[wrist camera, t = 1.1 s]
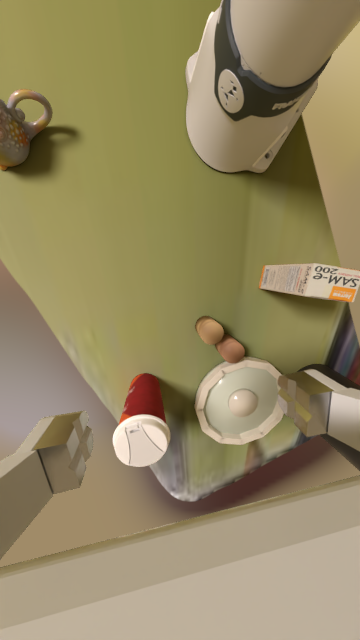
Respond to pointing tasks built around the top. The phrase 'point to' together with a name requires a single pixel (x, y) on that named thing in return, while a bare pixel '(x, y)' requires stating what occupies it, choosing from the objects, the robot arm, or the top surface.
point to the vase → (348, 452)
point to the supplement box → (312, 281)
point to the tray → (239, 401)
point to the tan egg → (209, 330)
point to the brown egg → (230, 349)
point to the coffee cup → (142, 424)
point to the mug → (19, 127)
